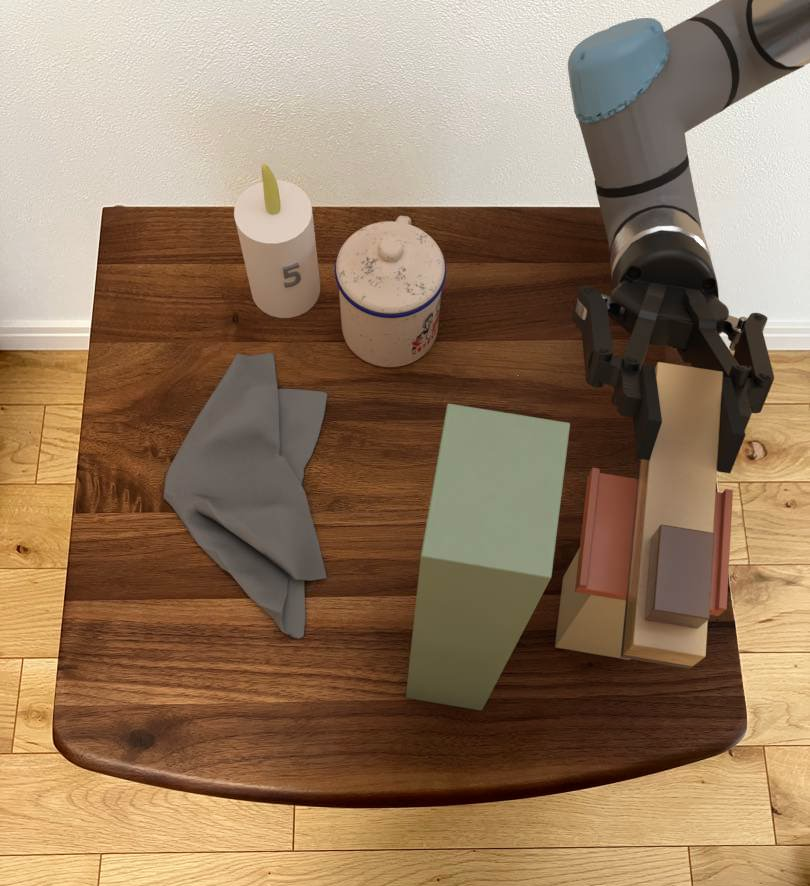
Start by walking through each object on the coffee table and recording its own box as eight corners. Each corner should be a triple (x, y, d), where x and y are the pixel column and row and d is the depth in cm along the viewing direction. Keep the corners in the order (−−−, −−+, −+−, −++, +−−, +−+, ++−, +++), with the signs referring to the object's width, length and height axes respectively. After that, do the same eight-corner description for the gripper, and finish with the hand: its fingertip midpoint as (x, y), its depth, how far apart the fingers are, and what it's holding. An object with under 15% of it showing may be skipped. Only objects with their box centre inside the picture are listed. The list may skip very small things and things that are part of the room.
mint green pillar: (495, 613, 77) (570, 422, 46) (481, 711, 74) (551, 578, 43) (422, 600, 77) (447, 402, 46) (405, 697, 74) (420, 556, 44)
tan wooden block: (708, 395, 61) (734, 353, 56) (689, 669, 55) (717, 648, 50) (645, 385, 61) (666, 343, 57) (620, 657, 55) (641, 635, 50)
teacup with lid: (431, 379, 84) (438, 302, 73) (330, 362, 85) (322, 283, 74) (452, 267, 88) (462, 178, 78) (355, 252, 89) (351, 161, 78)
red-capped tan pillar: (655, 580, 78) (733, 489, 61) (647, 675, 75) (726, 609, 58) (546, 562, 79) (592, 467, 61) (534, 656, 76) (579, 584, 58)
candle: (265, 329, 86) (241, 218, 72) (241, 272, 88) (214, 153, 74) (331, 307, 87) (320, 193, 73) (306, 251, 89) (291, 129, 75)
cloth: (178, 352, 85) (173, 338, 83) (334, 354, 85) (332, 340, 83) (150, 638, 76) (144, 631, 74) (325, 640, 76) (323, 632, 74)
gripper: (756, 339, 75) (814, 521, 57) (540, 305, 76) (530, 475, 58) (791, 247, 70) (866, 415, 52) (560, 212, 71) (556, 366, 53)
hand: (690, 446), depth 55 cm, fingers closed on tan wooden block, 4 cm apart
